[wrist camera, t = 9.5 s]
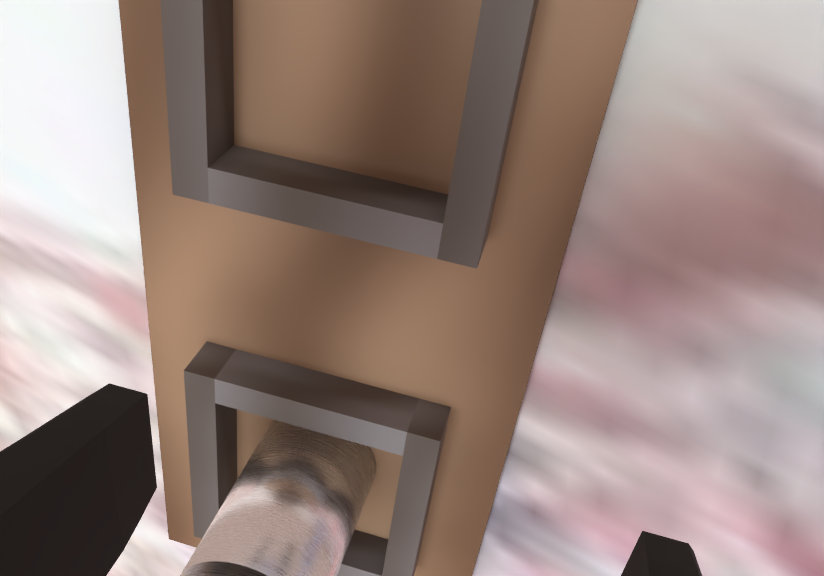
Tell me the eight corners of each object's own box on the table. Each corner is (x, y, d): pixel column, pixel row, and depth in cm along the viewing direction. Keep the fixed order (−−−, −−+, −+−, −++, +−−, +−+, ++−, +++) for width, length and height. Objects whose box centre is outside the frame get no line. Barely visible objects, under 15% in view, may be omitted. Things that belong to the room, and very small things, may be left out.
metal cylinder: (382, 430, 24) (297, 642, 18) (369, 511, 26) (289, 724, 20) (266, 396, 25) (143, 592, 18) (262, 479, 27) (152, 678, 21)
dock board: (716, -278, 13) (726, -288, 12) (459, 616, 29) (448, 664, 28) (99, -364, 15) (33, -384, 13) (175, 529, 31) (149, 570, 29)
